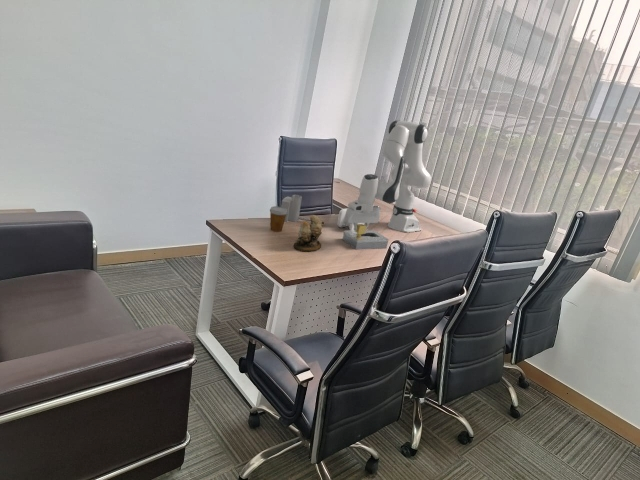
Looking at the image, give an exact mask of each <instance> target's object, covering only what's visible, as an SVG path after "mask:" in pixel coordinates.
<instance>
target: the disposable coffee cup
mask: <svg viewBox="0 0 640 480" xmlns="http://www.w3.org/2000/svg"><path fill="white" fill-rule="evenodd" d="M269 213H270V214H269V215H270V218H269V220H270V224H269V225H270V231H272V232H274V233H275V232H276V233H280V232H282V231H283V228H284V224H285V222H284V221H285V217H286V214H287V209H286V208H283V207H281V206H271V207H270V209H269Z"/></svg>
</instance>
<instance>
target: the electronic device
mask: <svg viewBox="0 0 640 480" xmlns="http://www.w3.org/2000/svg"><path fill="white" fill-rule="evenodd" d="M291 195H292V196H286V197H284V198H283V199H282V200H281V204H280V205H281V206H280V207H283V208H286V209H287V214H286V217H285V221H284V223H288V222H293V223H297V222H299V220H302V221H307V222H311V221H310V218H309V219H308V218H306V217H300V214H301V213H300V212H301V205H302V198H303V197H302V195H299V194H291ZM324 224H325V222H324V221H322V225H324Z"/></svg>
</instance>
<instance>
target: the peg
mask: <svg viewBox="0 0 640 480" xmlns="http://www.w3.org/2000/svg"><path fill="white" fill-rule="evenodd" d="M357 227H358V231H355V232H357V236H361V234H365V230H367V229H366V226H365V224H364V225H363V224H357Z"/></svg>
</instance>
